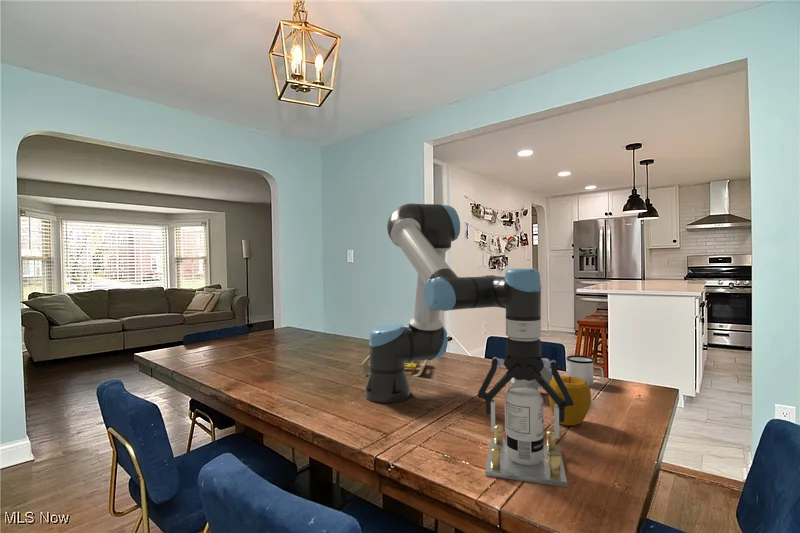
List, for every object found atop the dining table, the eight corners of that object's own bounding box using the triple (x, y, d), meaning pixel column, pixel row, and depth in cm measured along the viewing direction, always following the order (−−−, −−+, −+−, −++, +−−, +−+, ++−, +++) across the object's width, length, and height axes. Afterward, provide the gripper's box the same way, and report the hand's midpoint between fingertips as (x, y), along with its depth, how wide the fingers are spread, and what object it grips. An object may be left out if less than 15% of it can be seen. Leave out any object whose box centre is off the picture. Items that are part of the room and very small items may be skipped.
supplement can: (500, 450, 93) (499, 386, 92) (534, 447, 93) (533, 384, 93) (513, 468, 85) (512, 398, 84) (550, 465, 85) (549, 396, 85)
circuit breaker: (557, 399, 128) (557, 352, 128) (511, 396, 131) (511, 351, 131) (553, 391, 135) (553, 347, 135) (510, 389, 138) (509, 346, 138)
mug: (563, 384, 143) (563, 359, 143) (569, 377, 150) (569, 354, 150) (600, 390, 136) (600, 364, 136) (604, 383, 144) (604, 358, 143)
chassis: (485, 475, 84) (484, 452, 84) (490, 441, 99) (490, 422, 99) (567, 487, 79) (566, 462, 79) (559, 449, 94) (559, 429, 94)
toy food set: (361, 376, 158) (361, 357, 158) (371, 364, 176) (371, 347, 176) (425, 378, 154) (424, 358, 154) (428, 365, 172) (428, 348, 172)
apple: (588, 435, 102) (588, 385, 102) (544, 426, 108) (544, 379, 107) (593, 420, 111) (593, 374, 111) (553, 412, 117) (552, 369, 117)
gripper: (464, 338, 89) (466, 433, 89) (587, 343, 81) (587, 446, 82) (469, 332, 96) (470, 419, 96) (581, 336, 88) (582, 431, 89)
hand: (524, 432), depth 89 cm, fingers open, 13 cm apart
